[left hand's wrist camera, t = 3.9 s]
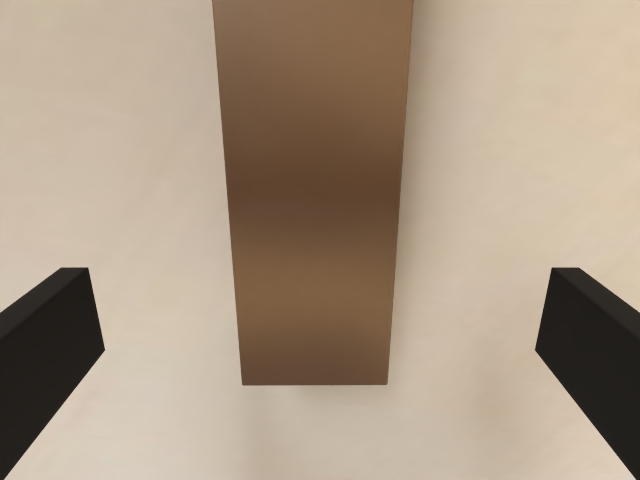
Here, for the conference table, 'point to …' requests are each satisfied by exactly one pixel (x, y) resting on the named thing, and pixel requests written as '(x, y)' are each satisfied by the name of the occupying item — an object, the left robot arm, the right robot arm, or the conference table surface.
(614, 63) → the conference table surface
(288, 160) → the bar
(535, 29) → the conference table surface
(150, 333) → the conference table surface
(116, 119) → the conference table surface
